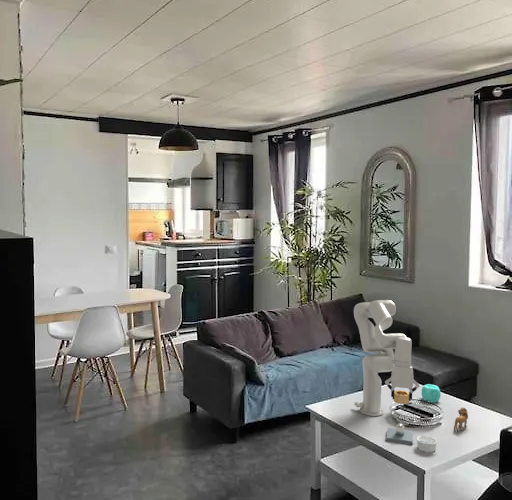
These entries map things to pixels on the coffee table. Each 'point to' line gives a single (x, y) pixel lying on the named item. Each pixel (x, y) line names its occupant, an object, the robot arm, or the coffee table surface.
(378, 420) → the coffee table surface
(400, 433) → the steel post
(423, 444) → the ramekin
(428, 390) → the decorative dice
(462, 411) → the lion figurine
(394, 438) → the stand base
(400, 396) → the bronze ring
